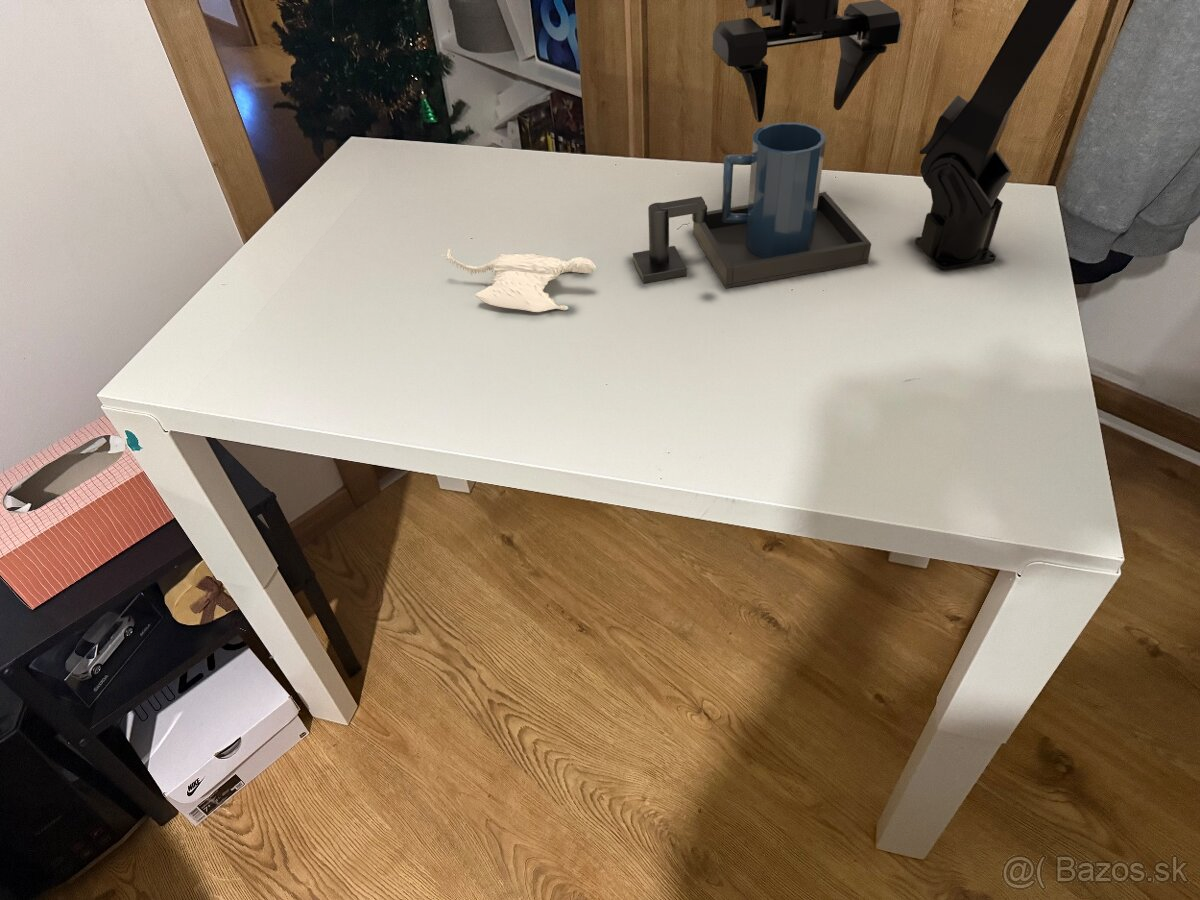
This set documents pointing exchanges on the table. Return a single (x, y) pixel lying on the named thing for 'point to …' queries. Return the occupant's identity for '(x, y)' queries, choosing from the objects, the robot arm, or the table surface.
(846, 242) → the tray
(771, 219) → the mug
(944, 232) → the robot arm
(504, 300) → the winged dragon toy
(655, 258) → the tap
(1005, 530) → the table surface
